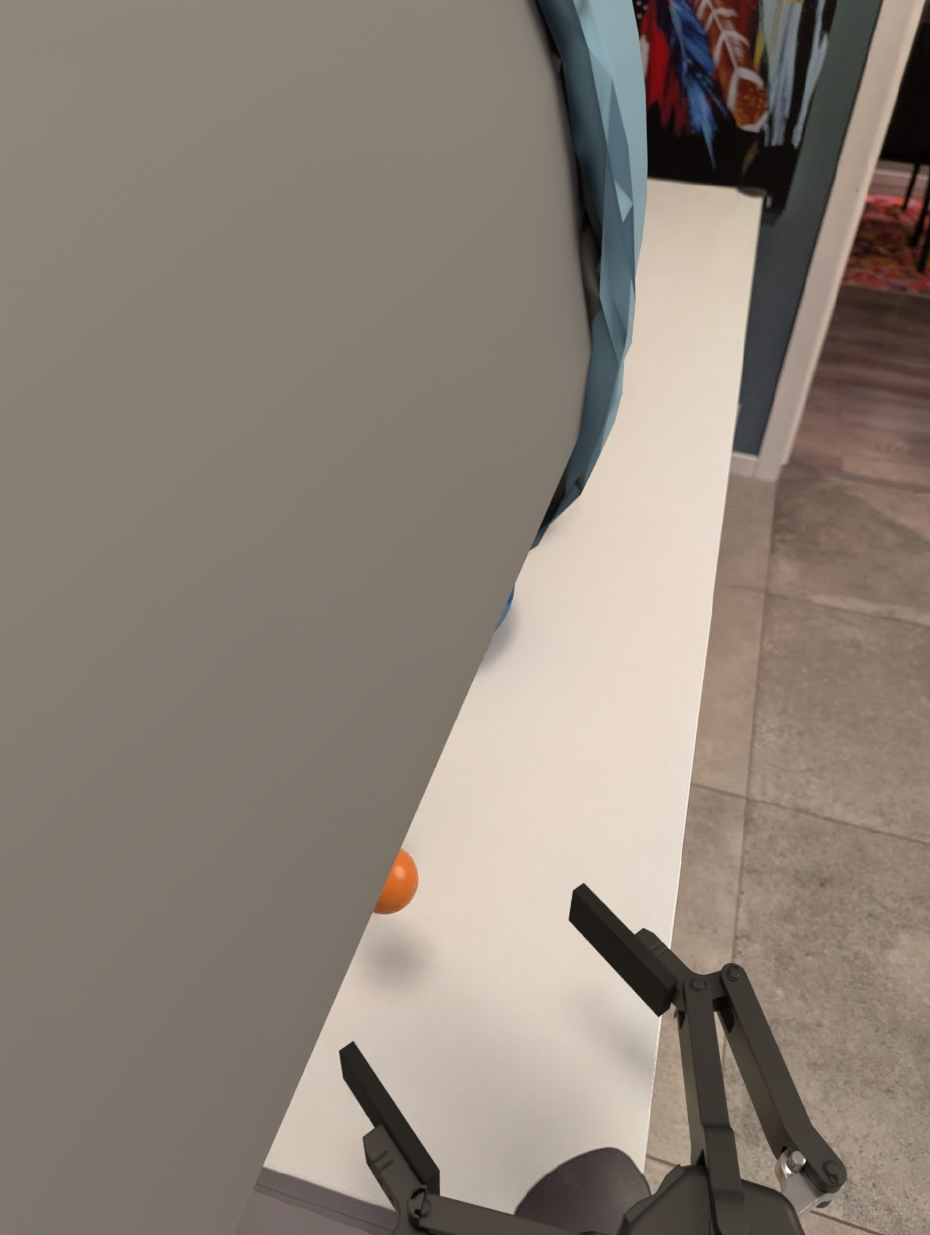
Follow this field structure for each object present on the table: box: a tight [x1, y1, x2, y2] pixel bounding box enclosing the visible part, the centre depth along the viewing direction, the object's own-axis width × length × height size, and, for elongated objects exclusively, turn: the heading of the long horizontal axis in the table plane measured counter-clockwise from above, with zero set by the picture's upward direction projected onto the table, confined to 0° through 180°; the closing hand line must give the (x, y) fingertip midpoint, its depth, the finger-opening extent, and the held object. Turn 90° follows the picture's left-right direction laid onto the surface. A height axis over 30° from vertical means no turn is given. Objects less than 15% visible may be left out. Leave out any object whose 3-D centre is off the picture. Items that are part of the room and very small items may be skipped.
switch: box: [372, 848, 419, 915], centre depth 53 cm, size 15×4×4 cm, turn 37°
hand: (469, 974), depth 46 cm, fingers open, 13 cm apart
